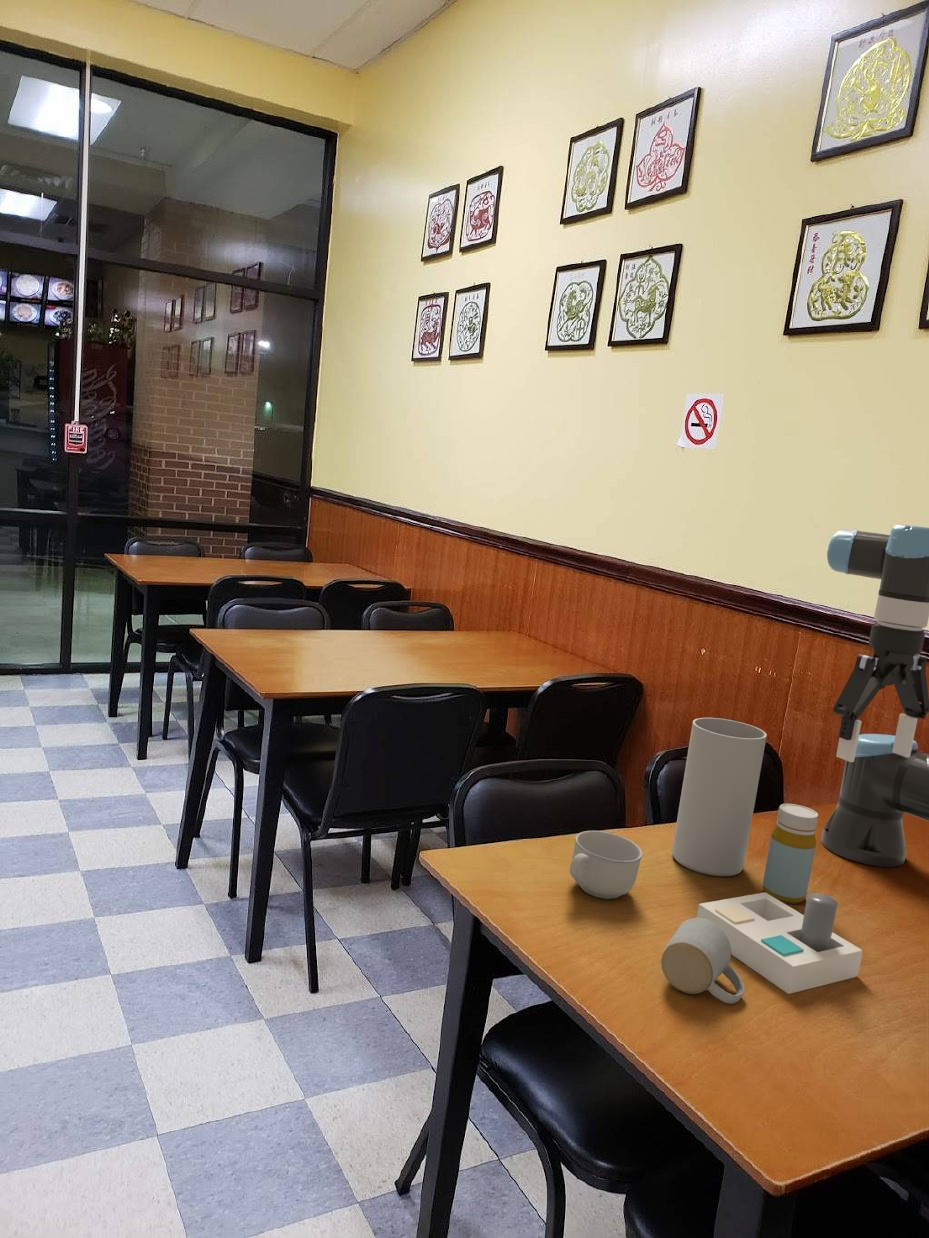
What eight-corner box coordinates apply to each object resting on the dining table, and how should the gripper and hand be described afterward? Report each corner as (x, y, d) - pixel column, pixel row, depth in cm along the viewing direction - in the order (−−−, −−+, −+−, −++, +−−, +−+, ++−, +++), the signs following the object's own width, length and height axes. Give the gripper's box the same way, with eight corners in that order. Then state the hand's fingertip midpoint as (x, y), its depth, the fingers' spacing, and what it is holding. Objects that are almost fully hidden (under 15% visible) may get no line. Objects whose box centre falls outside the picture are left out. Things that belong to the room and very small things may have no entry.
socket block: (761, 915, 144) (765, 890, 143) (857, 976, 128) (863, 948, 127) (694, 928, 137) (699, 901, 136) (788, 994, 121) (793, 964, 121)
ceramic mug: (653, 984, 120) (663, 931, 118) (672, 959, 127) (681, 908, 125) (733, 1017, 115) (745, 962, 113) (748, 989, 122) (759, 936, 120)
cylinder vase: (657, 851, 165) (678, 718, 161) (709, 845, 171) (730, 716, 167) (704, 881, 154) (727, 740, 150) (758, 874, 160) (782, 737, 156)
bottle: (808, 908, 148) (824, 821, 146) (764, 900, 150) (779, 813, 147) (801, 890, 155) (817, 807, 153) (759, 882, 156) (774, 799, 154)
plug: (808, 955, 132) (820, 891, 131) (831, 970, 129) (843, 904, 127) (789, 959, 131) (801, 895, 129) (811, 974, 127) (824, 908, 126)
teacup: (604, 871, 154) (610, 826, 152) (649, 899, 145) (657, 852, 143) (539, 883, 146) (546, 836, 144) (583, 915, 137) (591, 865, 136)
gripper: (927, 622, 150) (902, 745, 153) (824, 619, 137) (800, 753, 141) (970, 631, 143) (944, 760, 146) (867, 629, 131) (840, 769, 134)
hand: (873, 757), depth 144 cm, fingers open, 13 cm apart
